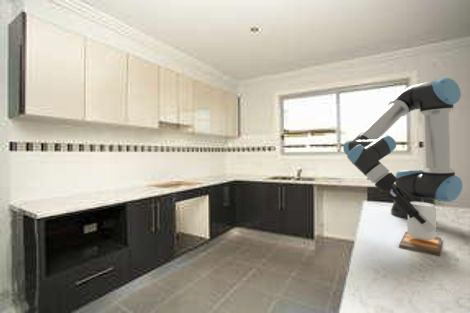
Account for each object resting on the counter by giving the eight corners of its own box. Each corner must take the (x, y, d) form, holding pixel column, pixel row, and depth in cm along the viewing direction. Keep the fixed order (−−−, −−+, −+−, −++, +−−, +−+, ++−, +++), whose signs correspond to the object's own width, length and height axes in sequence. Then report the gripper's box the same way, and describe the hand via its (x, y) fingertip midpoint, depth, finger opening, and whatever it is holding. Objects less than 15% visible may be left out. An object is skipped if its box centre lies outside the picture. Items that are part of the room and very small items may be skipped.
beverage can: (440, 241, 85) (441, 206, 85) (413, 240, 87) (414, 205, 86) (427, 233, 93) (428, 201, 92) (403, 232, 94) (403, 200, 94)
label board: (405, 233, 100) (405, 231, 100) (441, 240, 93) (441, 237, 93) (399, 247, 86) (399, 244, 86) (440, 256, 79) (440, 252, 79)
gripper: (379, 181, 107) (425, 226, 97) (367, 187, 91) (421, 241, 81) (394, 169, 103) (443, 215, 93) (384, 173, 88) (443, 228, 78)
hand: (433, 227), depth 87 cm, fingers closed on beverage can, 8 cm apart
